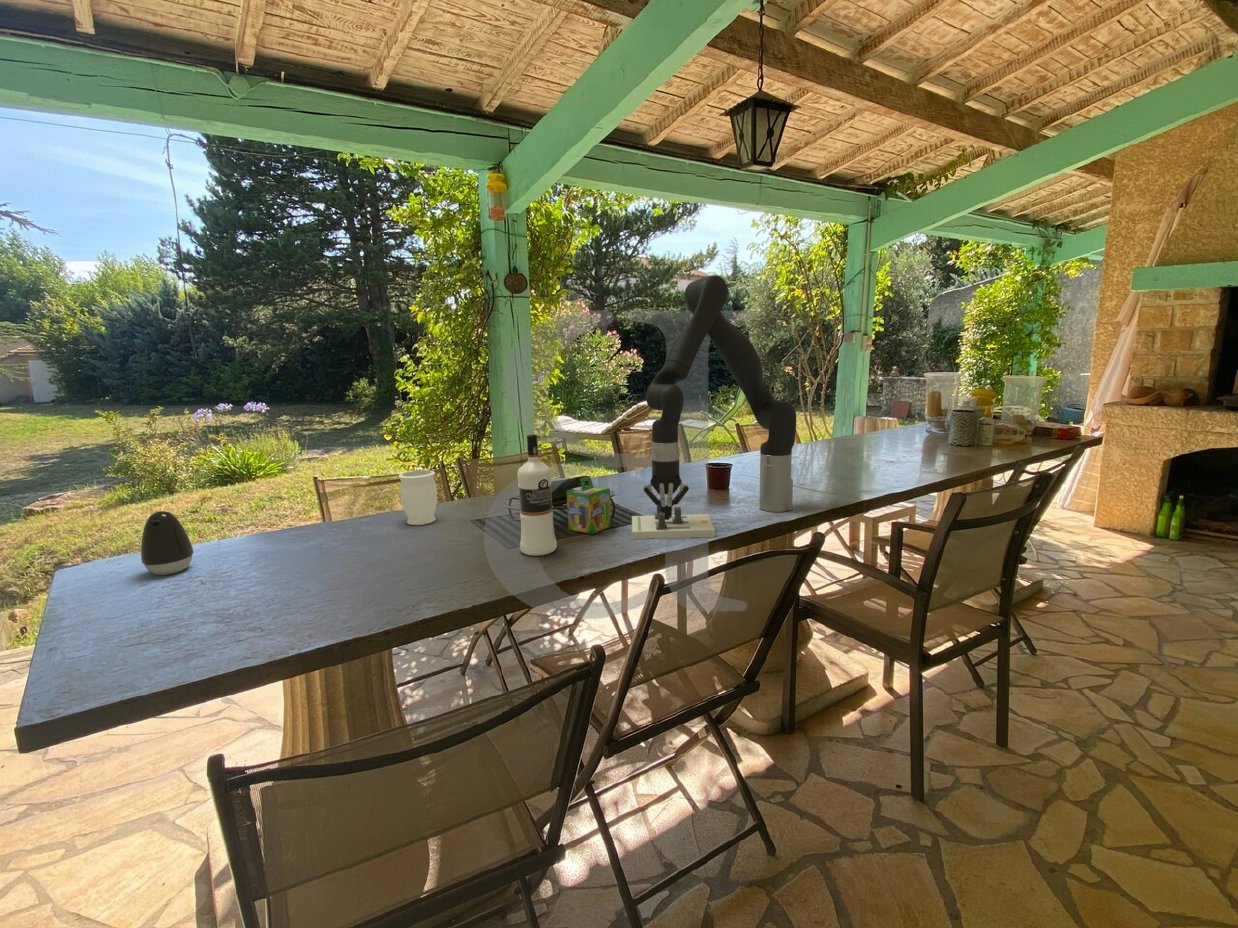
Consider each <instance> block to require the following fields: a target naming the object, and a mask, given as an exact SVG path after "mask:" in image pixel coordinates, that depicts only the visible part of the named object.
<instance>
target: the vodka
mask: <svg viewBox="0 0 1238 928" xmlns="http://www.w3.org/2000/svg"><path fill="white" fill-rule="evenodd" d="M526 442H527V443H526V446H527V462H525V463H524V464H523V465H521V466H520V467H519V468H518V470H517V474H516V476H517V481H518V483H517V486H518V492H519V509H520V513H519V517H520V530H521V531H520V542H519V549H520V551H521V552H522V553H523V554H524V555H527V556H529V557H530V556H531V557H540V556H545V555H549V554H551V553H554V551H555V550H556V549H557V547H558V546H557V545H558V544H557V543H558V542H557V538H556V535H555V528H554V516H553V515H554V511H553V499H552V498H553V497H552V472H551V469H550V467H549V465H546V464H545V463H543V462H542V461H540V459H539V447H538V446H539V445H538V444H539V443H538V435H537V434H532V433H530V434H527V435H526Z"/></svg>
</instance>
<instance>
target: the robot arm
mask: <svg viewBox="0 0 1238 928" xmlns="http://www.w3.org/2000/svg"><path fill="white" fill-rule="evenodd" d="M728 298H729V286H728V283H727V282H726V280H725V279H724V278H723V277H721V276H719V275H715V274H713V275H708V276H705V277H702V278H699V279H696V280H693V281H691V282H689V283H688V284H687V286H686V287H685V291H684V299H685V303H686V305H687V307H688V309H689V310H690V312H691V313H692V317H691V318H690V320H689V322H688V323H687V324H686V326H685V327H684V329H683V330H682V331H681V333H679V334H678V335H677V338H676V339H675V341H674V342H673V343H672V346H671V348H670V350H669V352H668V354H667V357H666V359H665V362H664V364H663V367H662V368H661V369H660V370H659V371H658V373H657V374H656V376H654V377H653V379H652V381H651V382H650V384H649V386H648V388H647V390H646V396H645V399H646V400H645V401H646V403H647V405H648V407H649V408H650V409H652V410H656V411H662V412H661V415H660V416H661V417H660V418H659V419H655V420H654V421H653V422H652V425H651V426H652V427H651V437H652V438H651V439H652V440H651V441H652V442H651V479H650V482H649V483H648V484H646V485H644V486H643V492H644V493H645V494H646V495H647V496H648V498H649V499H650V500H651V501H652V502H653V504H654V505H656V506H657V505H660V506H661V513H664V514H665V520H669V518H671V517H672V515H673V513H672V512H673V509H672V508H673V506H675V505H679V503H680V502H681V501H682V499H683V498H684V496H685V495H686V494H687V493H688V491H689V489H690V487H689V485H688V484H685V483H684V482H683V481H682V478H681V475H680V455H681V454H680V444H679V424H680V421H681V417H682V412H683V407H684V400H685V399H684V398H685V397H684V393H683V391H682V389H681V388H680V386H678V385H676V384H677V383H680V382H682V381H684V380H686V379H687V377H688V375H689V374H690V371H691V369H692V366H693V365H694V364H693V363H694V361H695V359H696V356H697V354H698V352H699V350H700V347H701V345H702V343H703V342H704V340H705V338H706V336H707V335H708V337H709V339H710V340H711V343H713V345H714V346H715V349H716V350H717V351H718V353H719V355H720V356H721V358H722V360H723V362H724V364H725V366H726V367H727V369H728V370H729V372H730V374H731V375H732V376H733V379H734V380H735V382H736V383H737V385H738V387H739V389H740V390H741V392H742V393H743V395H744V396H745V398H746V400H747V402H748V405H749V407H750V409H751V412H752V414H753V416H754V418H755V420H756V421H757V424H759V426H760V427H761V428H763V429H765V430H768V438H767V440H766V441H765V442H762V443H761V444H760V451H759V453H760V454H759V455H760V456H759V457H760V458H759V464H760V465H759V500H758V502H759V503H758V504H759V505H758V506H759V509H760V510H763V511H765V512H772V513H781V512H787V511H788V512H789V511H792V510H793V495H794V494H793V493H794V492H793V491H794V489H793V488H794V479H793V478H792V459H793V458H792V455H793V447H794V446H795V443H796V442H795V441H796V434H797V433H796V431H797V430H796V429H797V412H796V408H795V406H794V404H792V403H791V402H789V401H786V400H779V399H776V398H775V397H774V396H773V395H772V394H771V392H770V391H769V390H770V389H769V388H768V387H767V386H766V383H765V380H764V374H763V373H764V372H763V363H762V361H761V357H760V354H759V353H758V352H757V350H756V348H755V346H754V345H753V343H752V341H751V340H750V338H748V336H746V335H745V334H744V333H743V332H741V331H740V330H739V329H738V328H737V327H735V326H734V325H733V324H731V322H730V321H728V320H727V319H726V317H725V316H724V315H723V313H722V312H721V311H722V309H723V308H724V307H725V304H726V302H727V301H728ZM678 488H679V489H678ZM653 489H654V491H656V492H657V494H659V497H660V499H658V497H657V496H656V495H655V493H654V492H653ZM677 490H679V491H678V493H677V494H676V495H675V496H674V498H673V494H674V493H676V491H677Z"/></svg>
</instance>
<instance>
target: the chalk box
mask: <svg viewBox="0 0 1238 928" xmlns="http://www.w3.org/2000/svg"><path fill="white" fill-rule="evenodd" d="M579 482H580V486H578V487H574V488H573V487H572V488H571V489H567V490H566V505H567V507H566V508H567V509H566V510H567V524H568V525H567V527H568V530H569V531H574V532H580V533H584V534H588V535H594V534H596V533H599V532H601V531H604V530H607V529H609V528H611V527H612V516H611V515H612V513H611V512H612V511H611V510H612V508H611V488H607V487H601V486H597V485H593V481H592V477H591V476H590V475H589V476H585V477H581V478H580V479H579ZM585 482H588V484H586V485H585Z"/></svg>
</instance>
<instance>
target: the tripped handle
mask: <svg viewBox="0 0 1238 928" xmlns="http://www.w3.org/2000/svg"><path fill="white" fill-rule="evenodd" d="M673 509H674V515H675V519H672V520H673V523H683V519H681V515H682V508H681V507H678V506H675V507H674V508H673Z"/></svg>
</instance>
